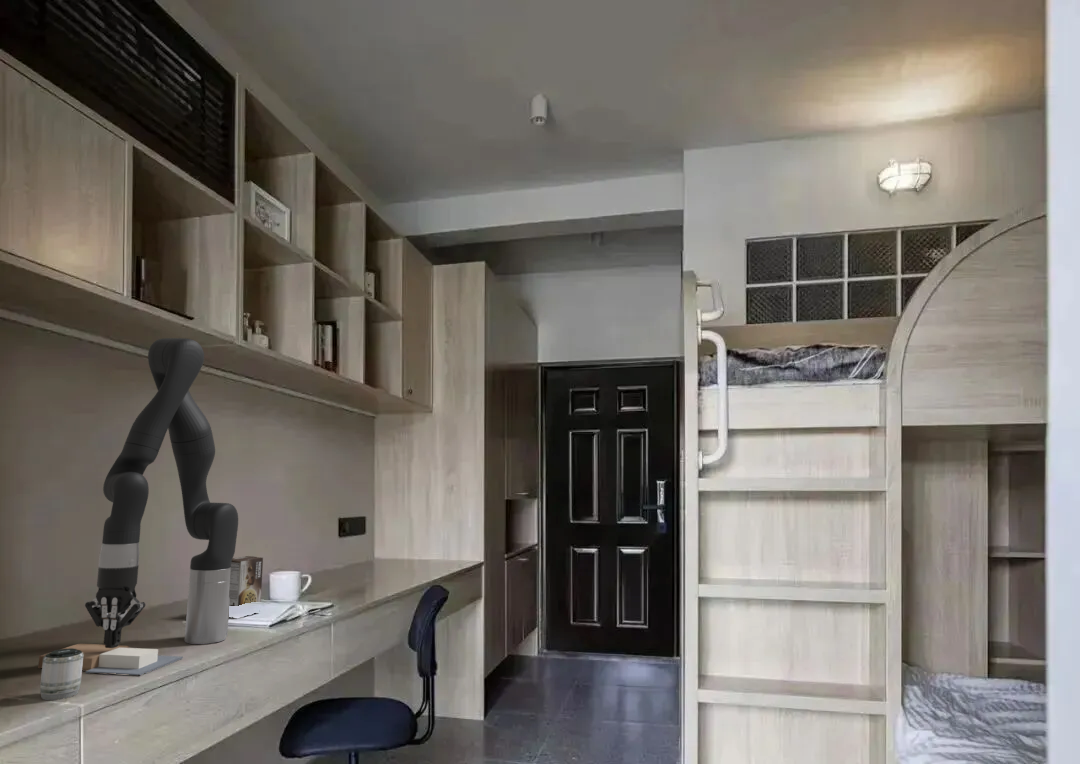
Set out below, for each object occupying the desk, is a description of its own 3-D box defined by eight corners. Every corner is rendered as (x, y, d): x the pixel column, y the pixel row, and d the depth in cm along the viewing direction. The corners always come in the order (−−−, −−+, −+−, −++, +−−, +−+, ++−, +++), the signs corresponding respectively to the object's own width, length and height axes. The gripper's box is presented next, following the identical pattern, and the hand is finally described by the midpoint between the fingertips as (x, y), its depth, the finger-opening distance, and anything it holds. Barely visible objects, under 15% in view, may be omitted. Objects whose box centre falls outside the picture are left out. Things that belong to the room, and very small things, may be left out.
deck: (78, 655, 158) (79, 643, 158) (128, 657, 156) (129, 645, 156) (38, 668, 147) (39, 655, 147) (90, 671, 145) (92, 658, 146)
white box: (118, 659, 153) (119, 647, 153) (157, 661, 152) (158, 649, 152) (98, 666, 147) (99, 654, 148) (138, 668, 146) (139, 656, 147)
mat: (132, 655, 158) (132, 654, 158) (182, 658, 156) (182, 656, 156) (85, 673, 144) (85, 671, 144) (139, 676, 142) (139, 674, 142)
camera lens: (33, 696, 129) (38, 651, 130) (72, 688, 134) (76, 645, 135) (46, 703, 125) (50, 657, 126) (85, 694, 130) (89, 650, 131)
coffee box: (243, 611, 209) (247, 555, 211) (260, 613, 207) (264, 556, 209) (219, 617, 200) (223, 558, 203) (237, 619, 198) (241, 560, 200)
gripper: (158, 563, 156) (151, 644, 154) (103, 561, 158) (96, 641, 156) (135, 567, 149) (127, 653, 147) (78, 565, 151) (69, 650, 148)
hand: (111, 647), depth 151 cm, fingers closed
